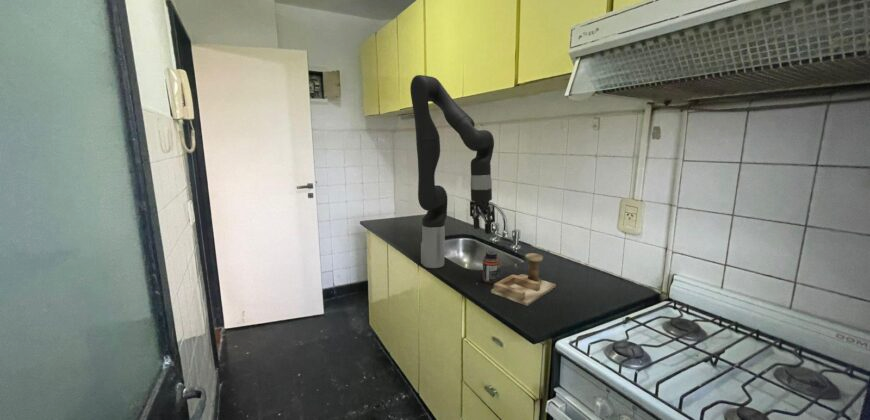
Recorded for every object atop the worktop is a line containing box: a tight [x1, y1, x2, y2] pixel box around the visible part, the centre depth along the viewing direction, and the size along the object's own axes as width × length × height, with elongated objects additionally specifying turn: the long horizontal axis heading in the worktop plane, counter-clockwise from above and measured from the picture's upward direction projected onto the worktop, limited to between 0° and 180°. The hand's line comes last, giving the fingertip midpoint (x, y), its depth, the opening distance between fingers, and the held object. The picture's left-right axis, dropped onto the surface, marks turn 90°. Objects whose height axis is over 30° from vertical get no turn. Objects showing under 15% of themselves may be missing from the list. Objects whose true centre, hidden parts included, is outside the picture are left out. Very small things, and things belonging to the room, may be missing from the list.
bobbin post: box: [525, 252, 544, 284], centre depth 127 cm, size 6×6×10 cm
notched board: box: [490, 273, 557, 307], centre depth 124 cm, size 14×20×4 cm
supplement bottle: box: [481, 250, 500, 285], centre depth 131 cm, size 6×6×11 cm
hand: (482, 231), depth 129 cm, fingers open, 8 cm apart
